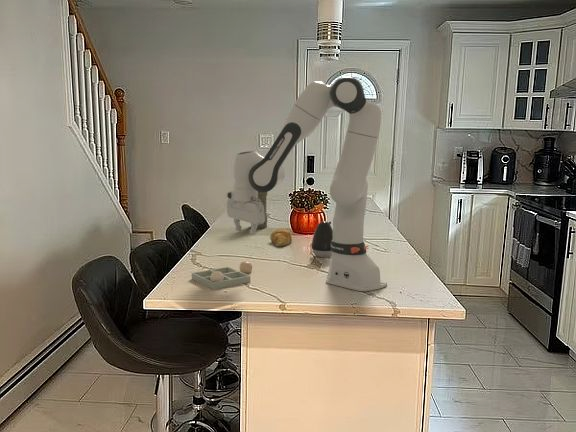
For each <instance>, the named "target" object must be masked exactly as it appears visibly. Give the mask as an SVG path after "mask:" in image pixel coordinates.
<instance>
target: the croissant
mask: <svg viewBox="0 0 576 432" xmlns="http://www.w3.org/2000/svg"><path fill="white" fill-rule="evenodd" d="M269 239H270V241H271V242H272V243H273V244H274V245H275V246H277V247H284V246H287V245H288V246H289V245H290V244H291V243H292V240H293V238H292V233H291V232H290V231H289V230H288V229H286V228H278V229H276V230H274V231H272V233H271V234H270V235H269Z"/></svg>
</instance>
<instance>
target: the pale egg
mask: <svg viewBox="0 0 576 432" xmlns="http://www.w3.org/2000/svg"><path fill="white" fill-rule="evenodd" d="M210 281H212V282H218V281H224V275H223V273H221V272H220V271H214V272H213V273H212V274H211V275H210Z"/></svg>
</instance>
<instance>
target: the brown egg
mask: <svg viewBox="0 0 576 432" xmlns="http://www.w3.org/2000/svg"><path fill="white" fill-rule="evenodd" d="M239 271H240V272H242V273H245V274H251V272H252V271H253V264H252V263H251V262H249V261H247V260H245V261H242V262H241V263H240V265H239Z"/></svg>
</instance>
